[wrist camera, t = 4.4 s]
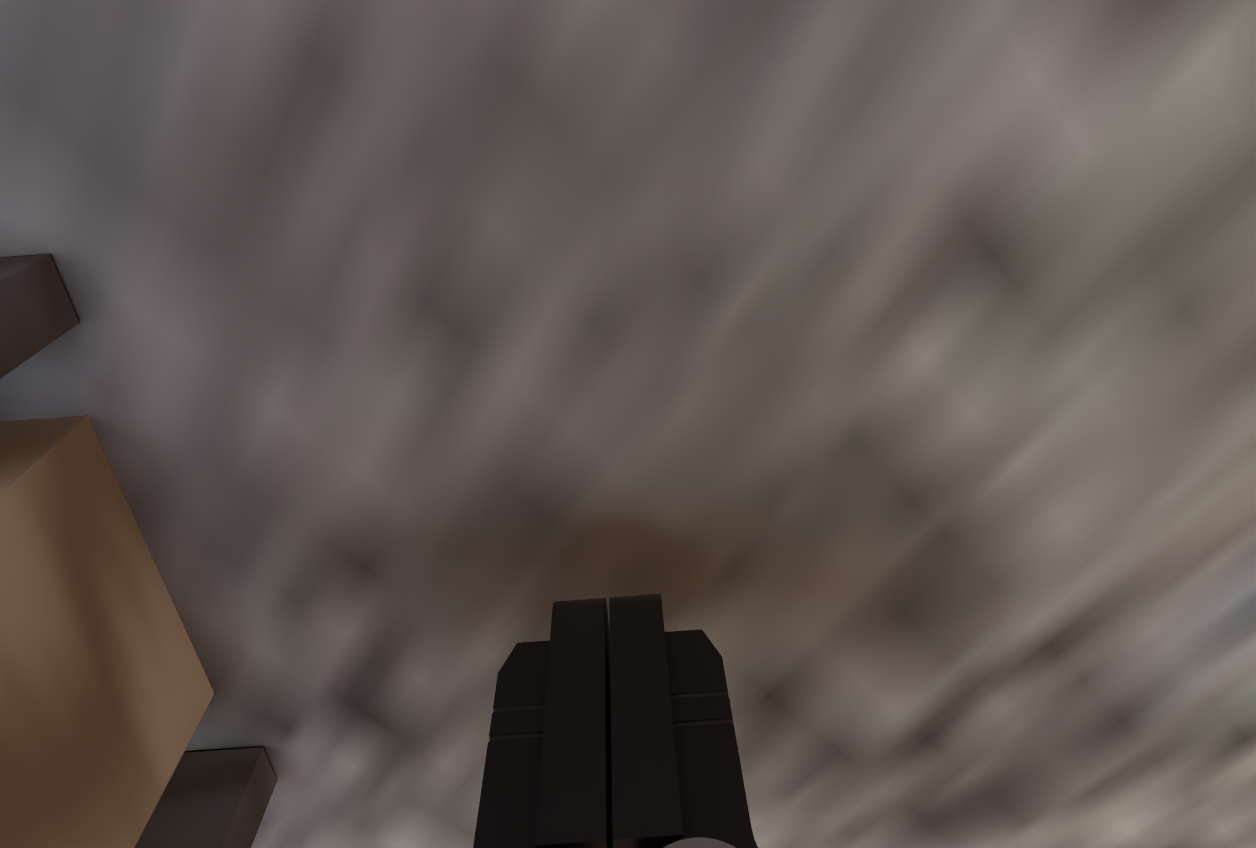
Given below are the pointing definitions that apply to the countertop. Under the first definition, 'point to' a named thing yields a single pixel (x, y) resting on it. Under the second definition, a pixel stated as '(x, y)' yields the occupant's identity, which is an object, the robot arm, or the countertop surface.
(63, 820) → the maple block
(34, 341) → the channel
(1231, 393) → the countertop surface
